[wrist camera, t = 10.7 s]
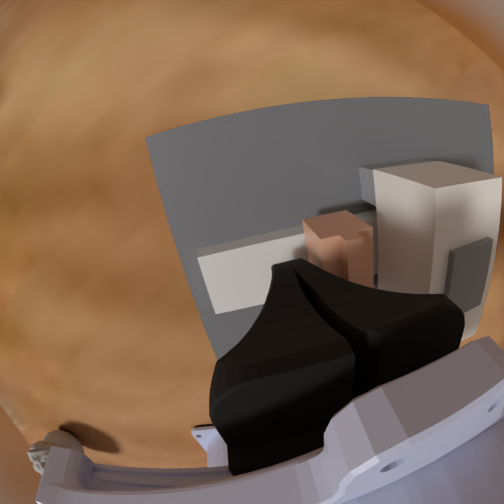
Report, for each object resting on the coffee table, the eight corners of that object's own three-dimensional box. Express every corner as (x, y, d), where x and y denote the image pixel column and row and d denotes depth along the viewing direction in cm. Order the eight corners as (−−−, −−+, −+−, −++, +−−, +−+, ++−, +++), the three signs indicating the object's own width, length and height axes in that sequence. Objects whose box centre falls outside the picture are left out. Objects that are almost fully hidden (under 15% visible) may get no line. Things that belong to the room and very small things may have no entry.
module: (420, 281, 15) (479, 336, 10) (366, 300, 15) (417, 369, 10) (422, 157, 12) (507, 179, 7) (358, 165, 12) (441, 190, 7)
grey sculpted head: (54, 410, 19) (34, 463, 13) (104, 446, 22) (93, 497, 15) (33, 417, 20) (15, 462, 13) (78, 450, 22) (67, 494, 16)
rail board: (470, 286, 17) (493, 304, 15) (224, 363, 17) (225, 399, 14) (476, 104, 12) (508, 106, 9) (152, 137, 12) (132, 137, 9)
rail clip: (351, 295, 13) (377, 332, 10) (313, 306, 13) (333, 347, 10) (346, 209, 11) (380, 232, 9) (302, 219, 11) (326, 245, 9)
